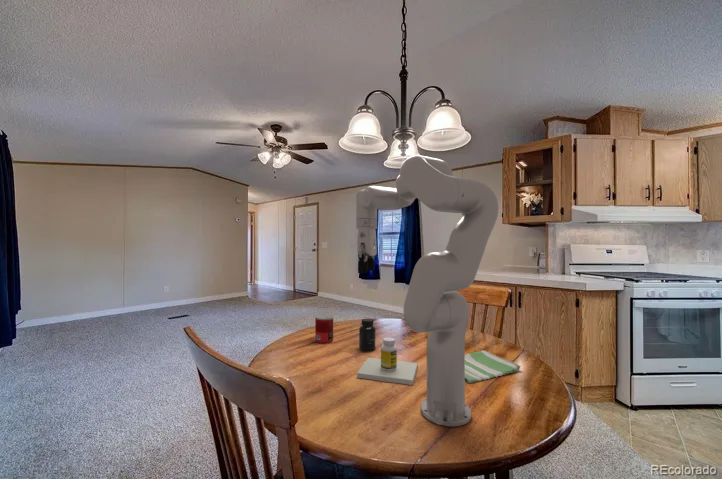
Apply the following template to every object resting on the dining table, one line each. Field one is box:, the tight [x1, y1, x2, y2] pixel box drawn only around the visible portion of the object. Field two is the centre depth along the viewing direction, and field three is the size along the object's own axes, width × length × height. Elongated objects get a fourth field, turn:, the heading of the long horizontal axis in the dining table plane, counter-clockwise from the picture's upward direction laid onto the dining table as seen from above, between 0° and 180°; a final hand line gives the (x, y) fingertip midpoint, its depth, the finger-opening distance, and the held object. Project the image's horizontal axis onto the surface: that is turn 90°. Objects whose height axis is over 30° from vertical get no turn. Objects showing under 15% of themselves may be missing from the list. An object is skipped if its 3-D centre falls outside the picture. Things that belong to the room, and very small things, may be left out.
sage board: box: [356, 357, 419, 386], centre depth 103 cm, size 14×18×2 cm
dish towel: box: [465, 349, 521, 384], centre depth 107 cm, size 18×23×3 cm
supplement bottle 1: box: [358, 318, 377, 352], centre depth 126 cm, size 7×7×12 cm
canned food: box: [314, 314, 334, 345], centre depth 136 cm, size 8×8×11 cm
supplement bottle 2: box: [380, 336, 398, 371], centre depth 103 cm, size 5×5×10 cm
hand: (366, 271), depth 110 cm, fingers open, 9 cm apart
